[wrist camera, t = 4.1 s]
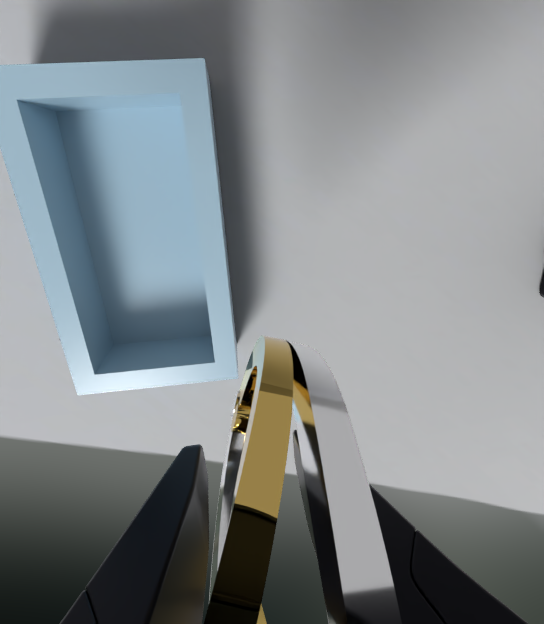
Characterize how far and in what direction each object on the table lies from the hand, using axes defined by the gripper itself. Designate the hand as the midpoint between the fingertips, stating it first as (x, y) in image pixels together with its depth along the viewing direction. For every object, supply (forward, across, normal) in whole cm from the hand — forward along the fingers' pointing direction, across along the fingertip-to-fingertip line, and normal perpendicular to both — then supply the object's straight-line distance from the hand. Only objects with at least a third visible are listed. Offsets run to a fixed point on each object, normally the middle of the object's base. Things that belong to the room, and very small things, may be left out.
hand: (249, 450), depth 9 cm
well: (+12, +4, -3) cm, 13 cm away
